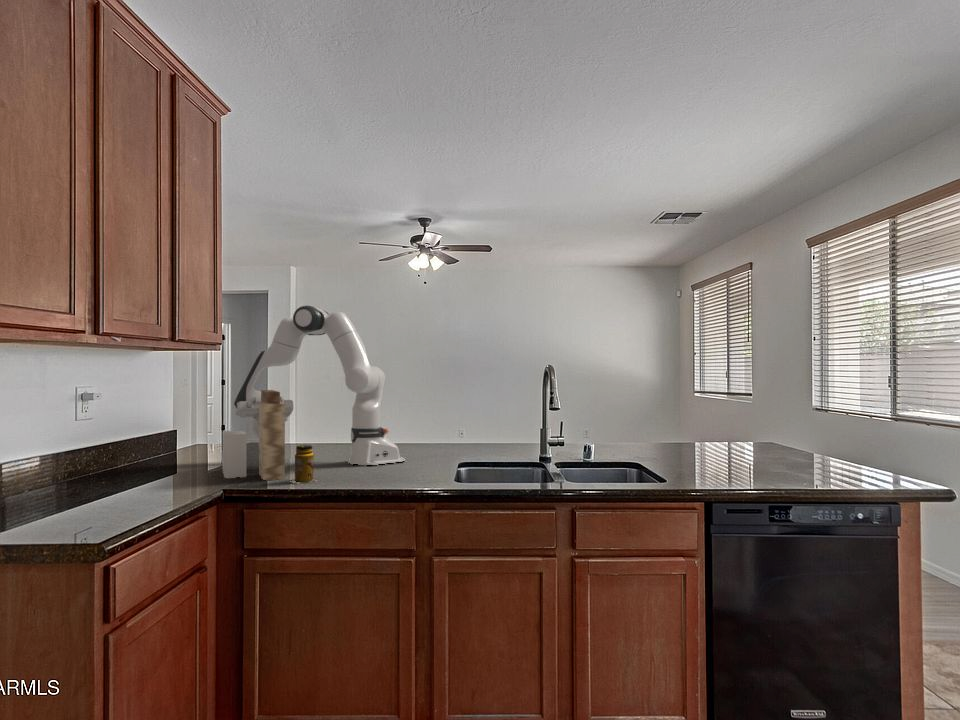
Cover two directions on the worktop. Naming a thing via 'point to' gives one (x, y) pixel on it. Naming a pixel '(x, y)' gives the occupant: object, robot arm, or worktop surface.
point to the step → (234, 454)
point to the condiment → (304, 464)
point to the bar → (270, 396)
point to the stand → (271, 441)
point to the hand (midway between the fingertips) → (267, 398)
